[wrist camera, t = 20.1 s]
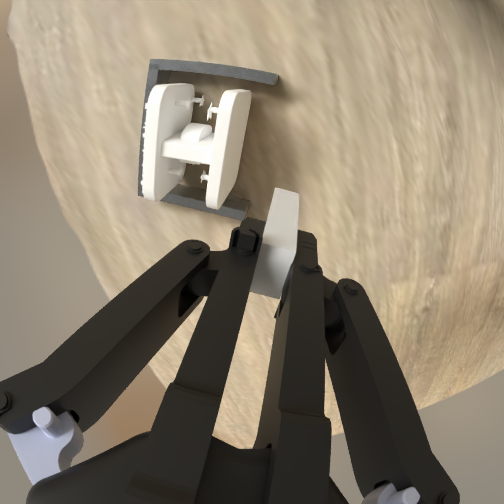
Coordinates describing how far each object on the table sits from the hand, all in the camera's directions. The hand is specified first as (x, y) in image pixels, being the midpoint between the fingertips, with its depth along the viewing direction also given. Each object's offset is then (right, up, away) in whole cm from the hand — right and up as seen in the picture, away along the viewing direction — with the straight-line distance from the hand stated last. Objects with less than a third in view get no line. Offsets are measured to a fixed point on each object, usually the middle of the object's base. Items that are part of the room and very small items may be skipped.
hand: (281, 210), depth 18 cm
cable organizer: (-8, +15, +22) cm, 27 cm away
